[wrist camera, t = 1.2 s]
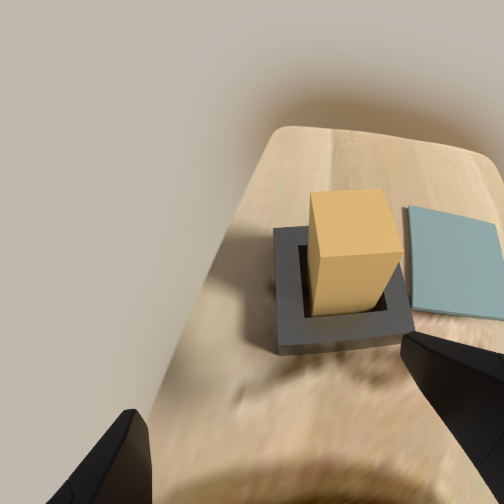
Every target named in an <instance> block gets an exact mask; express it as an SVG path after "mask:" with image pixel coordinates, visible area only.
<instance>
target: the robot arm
mask: <svg viewBox="0 0 504 504" xmlns="http://www.w3.org/2000/svg"><path fill="white" fill-rule="evenodd" d="M400 355H401V358H402V360H403V362H404V364H405V365H406V367H407V369H408V370H409V372H410V374H411V376H412V377H413V379H414V381H415V382H416V384H417V386H418V387H419V389H420V391H421V392H422V393H423V395H424V396H425V397H426V399H427V400H428V401H429V403H430V404H431V406H432V407H433V408H434V410H435V411H436V412H437V414H438V415H439V416H440V418H441V419H442V420H443V422H444V423H445V425H446V426H447V427H448V429H449V430H450V432H451V433H452V434H453V436H454V437H455V439H456V440H457V441H458V443H459V444H460V446H461V447H462V449H463V450H464V451H465V453H466V454H467V456H468V457H469V459H470V460H471V462H472V463H473V465H474V466H475V468H476V469H477V470H478V472H479V474H480V475H481V477H482V478H483V480H484V481H485V483H486V484H487V486H488V487H489V489H490V491H491V492H492V494H493V495H494V497H495V498H496V500H497V501H498V503H499V504H504V354H501V353H496V352H493V351H489V350H485V349H481V348H477V347H473V346H469V345H465V344H461V343H457V342H454V341H450V340H446V339H442V338H439V337H435V336H431V335H427V334H424V333H420V332H416V331H410V332H408V333H406V334H404V335H403V336H402V341H401V351H400ZM46 504H152V464H151V454H150V444H149V433H148V427H147V425H146V423H145V421H144V420H143V418H142V417H141V415H140V414H139V412H138V411H137V410H136V409H127V410H124V411H123V412H122V413H121V414H120V415H119V417H118V418H117V419H116V420H115V422H114V423H113V424H112V425H111V426H110V428H109V429H108V430H107V431H106V433H105V434H104V435H103V436H102V437H101V439H100V440H99V441H98V442H97V444H96V445H95V446H94V447H93V449H92V450H91V451H90V452H89V453H88V455H87V456H86V457H85V458H84V459H83V461H82V462H81V463H80V464H79V466H78V467H77V468H76V470H75V471H74V472H73V473H72V474H71V475H70V477H69V479H68V480H66V481H65V483H64V484H63V485H62V486H61V488H60V489H59V490H58V491H57V492H56V493H55V494H54V495H53V497H52V498H51V499H50V500H49V501H48V502H47V503H46Z"/></svg>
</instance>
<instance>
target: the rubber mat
mask: <svg viewBox="0 0 504 504" xmlns="http://www.w3.org/2000/svg"><path fill="white" fill-rule="evenodd" d="M408 220H409V234H410V254H411V310H418V311H426V312H433V313H441V314H449V315H457V316H465V317H473V318H482V319H491V320H500V321H504V261H503V256H502V251H501V247H500V242H499V238H498V234H497V230H496V226H495V224H492V223H488V222H484V221H480V220H475V219H471V218H467V217H463V216H458V215H454V214H449V213H445V212H440V211H435V210H430V209H426V208H421V207H415V206H410V205H409V206H408Z"/></svg>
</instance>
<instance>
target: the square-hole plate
mask: <svg viewBox="0 0 504 504" xmlns="http://www.w3.org/2000/svg"><path fill="white" fill-rule="evenodd" d="M308 234H309V226H299V227H284V228H273V235H274V256H275V279H276V304H277V332H278V350H279V356H284V355H300V354H314V353H326V352H337V351H346V350H356V349H364V348H372V347H379V346H386V345H393V344H400V343H401V341H402V336H403V335H404V334H406V333H408V332H410V331H415V326H414V321H413V317H412V312H411V307H410V303H409V299H408V294H407V290H406V286H405V282H404V278H403V275H402V271H401V267H400V263H398V265H397V266H396V268H395V270H394V272H393V274H392V276H391V278H390V280H389V282H388V283H387V285H386V287H385V289H384V291H383V293H382V294H381V296H380V298H379V300H378V301H377V303H376V305H375V310H376V312H368V313H358V314H348V315H337V316H325V317H312V318H304V308H303V296H302V284H301V273H300V264H306V263H307V253H308Z"/></svg>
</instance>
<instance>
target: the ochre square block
mask: <svg viewBox="0 0 504 504" xmlns="http://www.w3.org/2000/svg"><path fill="white" fill-rule="evenodd" d="M403 253H404V250H403V246H402V243H401V240H400V237H399V234H398V231H397V228H396V225H395V222H394V219H393V216H392V213H391V211H390V208H389V205H388V202H387V200H386V197H385V194H384V192H383V189H379V190H347V191H324V192H310V212H309V234H308V253H307V269H306V272H307V282H308V292H309V303H310V314H311V318H312V317H325V316H337V315H348V314H358V313H368V312H372V310H373V308H374V307H375V305H376V303H377V301H378V300H379V298H380V296H381V294H382V293H383V291H384V289H385V287H386V285H387V283H388V282H389V280H390V278H391V276H392V274H393V272H394V270H395V268H396V266H397V265H398V263H399V261H400V259H401V257H402V255H403Z"/></svg>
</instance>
